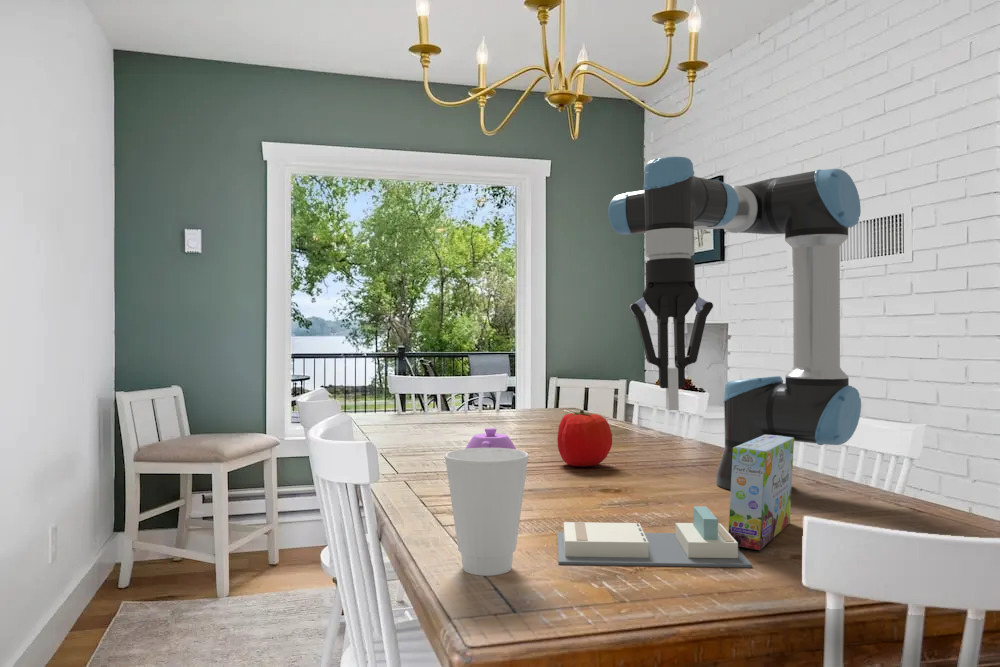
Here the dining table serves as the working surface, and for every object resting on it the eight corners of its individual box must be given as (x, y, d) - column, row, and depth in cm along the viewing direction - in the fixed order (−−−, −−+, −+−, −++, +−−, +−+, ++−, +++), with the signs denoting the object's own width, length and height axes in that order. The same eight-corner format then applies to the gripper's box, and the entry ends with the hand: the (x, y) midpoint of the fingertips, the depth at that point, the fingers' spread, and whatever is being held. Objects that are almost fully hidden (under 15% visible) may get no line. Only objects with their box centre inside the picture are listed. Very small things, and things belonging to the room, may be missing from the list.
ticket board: (725, 536, 121) (725, 519, 121) (752, 567, 105) (751, 548, 105) (557, 534, 123) (557, 517, 123) (558, 564, 107) (558, 545, 107)
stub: (720, 537, 118) (720, 504, 118) (737, 558, 108) (737, 522, 108) (675, 536, 119) (675, 503, 119) (688, 557, 108) (688, 521, 108)
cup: (462, 586, 98) (462, 463, 98) (433, 561, 108) (433, 450, 108) (544, 574, 102) (543, 457, 102) (508, 551, 113) (508, 445, 113)
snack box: (764, 552, 111) (767, 450, 111) (726, 545, 114) (728, 446, 114) (793, 523, 129) (795, 435, 129) (759, 518, 132) (761, 432, 132)
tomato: (564, 459, 194) (564, 406, 194) (617, 462, 189) (617, 408, 189) (547, 470, 179) (547, 413, 179) (604, 473, 174) (604, 415, 174)
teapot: (525, 466, 186) (525, 423, 185) (515, 482, 166) (515, 434, 166) (470, 465, 187) (470, 422, 187) (453, 480, 168) (453, 433, 168)
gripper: (706, 259, 121) (708, 405, 121) (625, 261, 121) (627, 407, 122) (717, 255, 113) (720, 411, 114) (630, 257, 114) (633, 412, 114)
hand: (672, 409), depth 118 cm, fingers closed
